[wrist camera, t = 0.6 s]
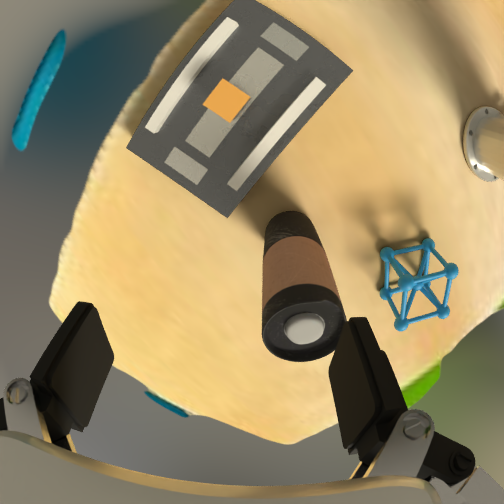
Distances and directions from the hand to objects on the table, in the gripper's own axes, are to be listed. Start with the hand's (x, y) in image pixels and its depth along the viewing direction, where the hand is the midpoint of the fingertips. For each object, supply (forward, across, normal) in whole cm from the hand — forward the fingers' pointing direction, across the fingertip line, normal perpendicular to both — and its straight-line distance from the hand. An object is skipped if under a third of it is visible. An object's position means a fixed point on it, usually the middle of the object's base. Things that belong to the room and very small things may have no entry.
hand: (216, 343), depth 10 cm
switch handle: (+26, +1, -9) cm, 27 cm away
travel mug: (+30, -7, +9) cm, 32 cm away
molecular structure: (+29, -27, +14) cm, 42 cm away
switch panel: (+30, +1, -9) cm, 31 cm away
